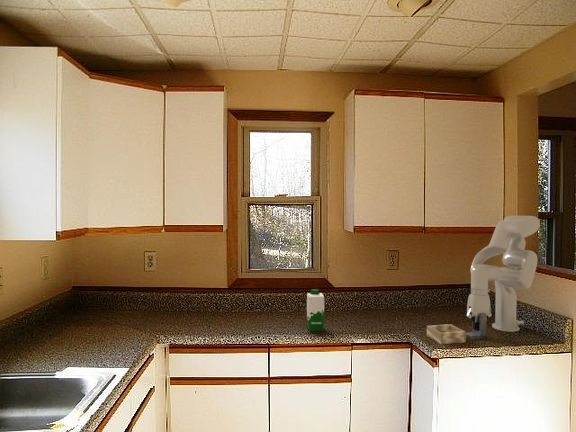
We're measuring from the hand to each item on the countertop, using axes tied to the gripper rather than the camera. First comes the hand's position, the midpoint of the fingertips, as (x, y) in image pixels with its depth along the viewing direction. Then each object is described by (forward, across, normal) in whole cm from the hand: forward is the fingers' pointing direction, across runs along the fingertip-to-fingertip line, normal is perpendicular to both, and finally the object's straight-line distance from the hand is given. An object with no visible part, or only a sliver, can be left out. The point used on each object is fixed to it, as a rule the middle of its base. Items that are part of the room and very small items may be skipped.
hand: (478, 329), depth 194 cm
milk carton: (+4, +74, -28) cm, 80 cm away
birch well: (+4, +18, 0) cm, 18 cm away
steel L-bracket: (+4, +2, 0) cm, 4 cm away
